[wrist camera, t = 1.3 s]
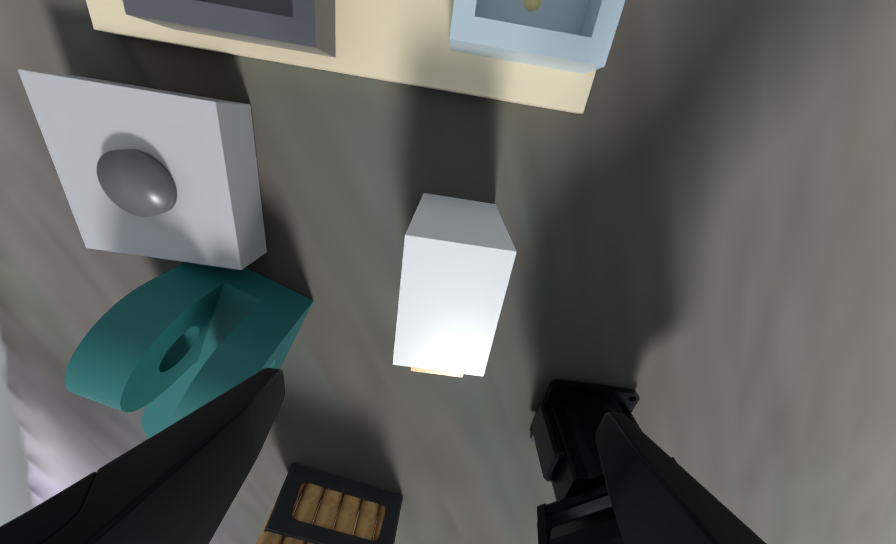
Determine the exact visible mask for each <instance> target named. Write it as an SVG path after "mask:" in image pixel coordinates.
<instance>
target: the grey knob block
mask: <svg viewBox="0 0 896 544" xmlns="http://www.w3.org/2000/svg"><path fill="white" fill-rule="evenodd" d="M18 72H19V74H20V77H21V79H22V82H23V85H24V87H25V90H26V92H27V95H28V98H29V100H30V103H31V105H32V108H33V111H34V113H35V116H36V118H37V121H38V124H39V126H40V129H41V132H42V134H43V137H44V139H45V142H46V145H47V147H48V150H49V152H50V155H51V158H52V160H53V163H54V165H55V168H56V171H57V173H58V176H59V178H60V181H61V184H62V186H63V189H64V191H65V194H66V197H67V199H68V202H69V204H70V207H71V210H72V212H73V215H74V217H75V220H76V223H77V225H78V228H79V230H80V233H81V236H82V238H83V241H84V243H85V246H86V248H91V249H98V250H105V251H112V252H119V253H126V254H133V255H140V256H147V257H154V258H161V259H168V260H175V261H182V262H189V263H196V264H203V265H210V266H217V267H224V268H231V269H238V270H242V269H244V268H245V267H247V266H248V265H249V264H251V263H252V262H254V261H255V260H257V259H258V258H259V257H261V256H262V255H264V254H265V253H266V252H267V248H266V240H265V231H264V222H263V213H262V204H261V195H260V186H259V177H258V168H257V159H256V150H255V142H254V133H253V124H252V115H251V106H250V104H245V103H239V102H233V101H227V100H221V99H215V98H208V97H202V96H196V95H190V94H184V93H178V92H172V91H166V90H160V89H154V88H148V87H142V86H136V85H130V84H124V83H118V82H112V81H106V80H100V79H94V78H87V77H81V76H72V75H63V74H54V73H45V72H36V71H28V70H19V69H18Z"/></svg>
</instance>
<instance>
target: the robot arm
mask: <svg viewBox="0 0 896 544" xmlns="http://www.w3.org/2000/svg"><path fill="white" fill-rule="evenodd" d="M556 387H557V388H556ZM284 395H285V386H284V377H283V372H282V370H280V369H275V368H264V369H262V370H261V371H259V372H257V373H256V374H254V375H252V376H251V377H249V378H247V379H246V380H244V381H242V382H241V383H239V384H238V385H236V386H234V387H233V388H231V389H229V390H228V391H226V392H224V393H223V394H221V395H219V396H218V397H216V398H215V399H213V400H211V401H210V402H208V403H206V404H205V405H203V406H201V407H200V408H198V409H196V410H195V411H193V412H192V413H190V414H188V415H187V416H185V417H183V418H182V419H180V420H178V421H177V422H175V423H173V424H172V425H170V426H169V427H167V428H165V429H164V430H162V431H160V432H159V433H157V434H155V435H154V436H152V437H150V438H149V439H147V440H146V441H144V442H142V443H141V444H139V445H137V446H136V447H134V448H132V449H131V450H129V451H127V452H126V453H124V454H123V455H121V456H119V457H118V458H116V459H114V460H113V461H111V462H109V463H108V464H106V465H104V466H103V467H101V468H100V469H99V470H98V471H97V472H93V473H91V474H89V475H88V476H86V477H85V478H83V479H81V480H80V481H78V482H76V483H75V484H73V485H71V486H70V487H68V488H66V489H65V490H63V491H61V492H60V493H58V494H56V495H55V496H53V497H51V498H49V499H48V500H46V501H44V502H43V503H41V504H39V505H38V506H36V507H34V508H33V509H31V510H29V511H28V512H26V513H24V514H22V515H20V516H19V517H17V518H15V519H13V520H11V521H10V522H8V523H6V524H4V525H2V526H1V527H0V544H209V542H210V541H211V539H212V537H213V535H214V533H215V532H216V530H217V528H218V526H219V525H220V523H221V521H222V519H223V518H224V516H225V514H226V512H227V511H228V509H229V507H230V505H231V504H232V502H233V500H234V498H235V496H236V495H237V493H238V491H239V489H240V488H241V486H242V484H243V482H244V481H245V479H246V477H247V475H248V474H249V472H250V470H251V468H252V467H253V465H254V463H255V461H256V459H257V457H258V455H259V453H260V451H261V449H262V447H263V444H264V442H265V440H266V438H267V435H268V433H269V431H270V429H271V426H272V424H273V422H274V420H275V417H276V415H277V413H278V411H279V408H280V406H281V404H282V402H283V399H284ZM638 400H639V395H638V394H637V392H636V391H635V390H631V389H623V388H616V387H608V386H601V385H593V384H586V383H578V382H571V381H563V380H555V381H553V382H551V384H550V386H549V389H548V391H547V394H546V396H545V399H544V401H543V403H542V404H541V405H540V406H539V409H538V411H537V414H536V416H535V419H534V421H533V424H532V431H531V434H530V437H531V441H532V442H533V443H535V444H536V448H537V452H538V456H539V461H540V465H541V469H542V473H543V477H544V478H545V480H546V481H548V482H552V486H553V489H554V493H555V497H556V501H555V502H553V503H550V504H547V505H546V504H542V505H539V506H537V516H538V522H537V526H538V544H766V543H765V542H764V541H763V540H762V539H761V538H759V537H758V536H757V535H756V534H755V533H754V532H753V531H752V530H751V529H750V528H748V527H747V526H746V525H745V524H744V523H743V522H742V521H741V520H740V519H738V518H737V517H736V516H735V515H734V514H733V513H732V512H731V511H730V510H728V509H727V508H726V507H725V506H724V505H723V504H722V503H721V502H720V501H718V500H717V499H716V498H715V497H714V496H713V495H712V494H711V493H710V492H709V491H707V490H706V489H705V488H704V487H703V486H702V485H701V484H700V483H699V482H697V481H696V480H695V479H694V478H693V477H692V476H691V475H690V474H689V473H687V472H686V471H685V470H684V469H683V468H682V467H681V466H680V465H679V464H678V463H677V462H676V461H675V459H674V458H673V457H672V458H671V457H670V456H669V455H668V454H666V453H665V452H664V451H663V450H662V449H661V448H660V447H659V446H658V445H656V444H655V443H654V442H653V441H652V440H651V439H650V438H649V437H648V436H647V435H645V434H644V433H643V432H642V430H641V429H640V427H639V425H638V424H637V422H636V420H635V419H634V417H633V415H632V414H631V412H632V411H633V409H634V407H635V406H636V404H637V402H638Z"/></svg>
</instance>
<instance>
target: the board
mask: <svg viewBox="0 0 896 544" xmlns="http://www.w3.org/2000/svg"><path fill="white" fill-rule="evenodd" d="M86 2H87V6H88V10H89V13H90V17H91V20H92V24H93V27H94V29H95V30H99V31H103V32H107V33H111V34H117V35H123V36H129V37H134V38H140V39H146V40H152V41H158V42H163V43H169V44H175V45H181V46H187V47H193V48H198V49H204V50H210V51H216V52H222V53H228V54H233V55H239V56H245V57H251V58H257V59H262V60H268V61H274V62H280V63H286V64H292V65H297V66H303V67H309V68H315V69H321V70H326V71H332V72H338V73H344V74H350V75H356V76H361V77H367V78H373V79H379V80H385V81H391V82H396V83H402V84H408V85H414V86H420V87H425V88H431V89H437V90H443V91H449V92H455V93H460V94H466V95H472V96H478V97H484V98H490V99H495V100H501V101H507V102H513V103H519V104H524V105H530V106H536V107H542V108H548V109H554V110H559V111H565V112H571V113H577V114H578V113H583V112H584V109H585V105H586V102H587V99H588V95H589V92H590V89H591V86H592V82H593V79H594V76H595V72H596V70H594V71H591V72H588V73H585V74H580V73H574V72H569V71H563V70H558V69H552V68H546V67H541V66H535V65H529V64H524V63H518V62H512V61H507V60H501V59H496V58H490V57H484V56H479V55H473V54H467V53H462V52H456V51H451V50H450V41H449V38H450V30H451V22H452V14H453V6H454V0H335V35H336V58H335V57H329V56H323V55H318V54H312V53H306V52H300V51H295V50H289V49H283V48H277V47H272V46H266V45H260V44H254V43H249V42H243V41H237V40H231V39H226V38H220V37H214V36H208V35H203V34H197V33H191V32H185V31H180V30H174V29H171V28H167V27H164V26H161V25H158V24H155V23H152V22H148V21H145V20H142V19H139V18H136V17H133V16H129V15H126V13H125V9H124V5H123V1H122V0H86Z"/></svg>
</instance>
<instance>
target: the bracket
mask: <svg viewBox="0 0 896 544" xmlns="http://www.w3.org/2000/svg"><path fill="white" fill-rule="evenodd" d="M312 303H313V300H311V299H309V298H307V297H305V296H303V295H301V294H299V293H297V292H295V291H293V290H291V289H289V288H287V287H284V286H282V285H280V284H278V283H276V282H274V281H272V280H270V279H268V278H266V277H264V276H262V275H260V274H258V273H256V272H254V271H252V270H250V269H248V268H246V267H245V268H244V269H242V270H238V269H231V268H224V267H217V266H210V265H203V264H196V263H189V262H184V263H182V264H181V265H179V266H177V267H175V268H173V269H171V270H169V271H167V272H165V273H164V274H162V275H160V276H158V277H156V278H154V279H152V280H150V281H148V282H147V283H145V284H143V285H141V286H140V287H138V288H136V289H135V290H133V291H132V292H131V293H129V294H128V295H126V296H125V297H124V298H123V299H121V300H120V301H119V302H118V303H116V304H115V305H114V306H113V307H112V308H111V309H110V310H109V311H108V312H106V313H105V314H104V315H103V316H102V317H101V318H100V320H99V321H98V322H97V323H96V324H95V325H94V326H93V327H92V328H91V330H90V331H89V332H88V333H87V335H86V336H85V337H84V338H83V340H82V341H81V343H80V344H79V346H78V347H77V349H76V350H75V352H74V354H73V356H72V358H71V360H70V362H69V364H68V367H67V370H66V374H65V385H66V388H67V389H68V390H69V391H70V392H72V393H74V394H77V395H80V396H82V397H85V398H88V399H91V400H93V401H96V402H99V403H102V404H104V405H107V406H110V407H113V408H115V409H118V410H121V411H124V412H133V411H136V410H138V409H140V408H142V407H144V406H145V410H144V413H143V417H142V426H143V429H144V431H145V433H146V434H147V436H148V437H149V438H150V437H152V436H154V435H155V434H157V433H159V432H160V431H162V430H164V429H165V428H167V427H169V426H170V425H172V424H173V423H175V422H177V421H178V420H180V419H182V418H183V417H185V416H187V415H188V414H190V413H192V412H193V411H195V410H196V409H198V408H200V407H201V406H203V405H205V404H206V403H208V402H210V401H211V400H213V399H215V398H216V397H218V396H219V395H221V394H223V393H224V392H226V391H228V390H229V389H231V388H233V387H234V386H236V385H238V384H239V383H241V382H242V381H244V380H246V379H247V378H249V377H251V376H252V375H254V374H256V373H257V372H259V371H261V370H262V369H264V368H275V369H280V367H281V365H282V363H283V361H284V359H285V357H286V355H287V353H288V351H289V349H290V347H291V345H292V343H293V341H294V339H295V337H296V335H297V333H298V331H299V329H300V327H301V325H302V323H303V321H304V319H305V317H306V315H307V313H308V311H309V309H310V307H311V305H312Z"/></svg>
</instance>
